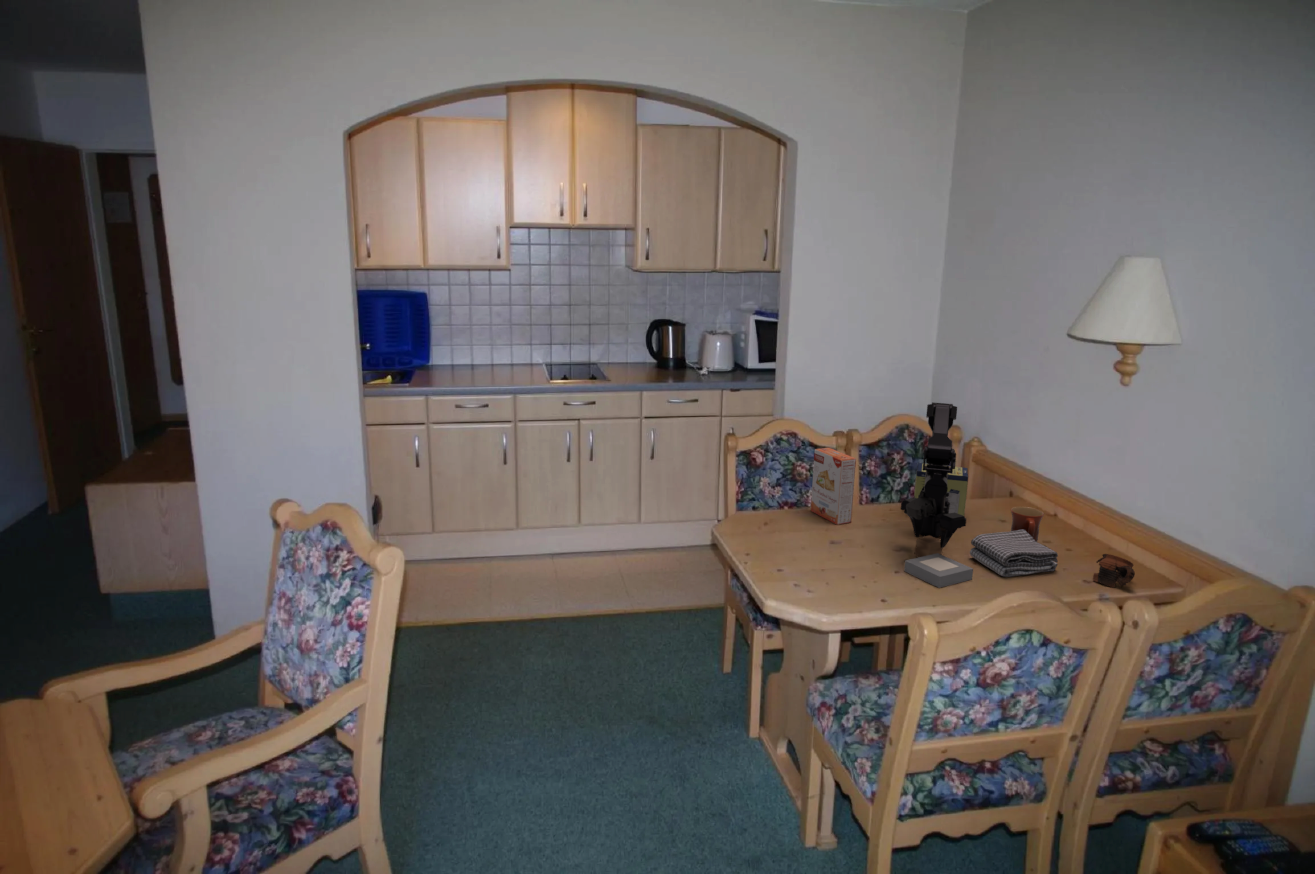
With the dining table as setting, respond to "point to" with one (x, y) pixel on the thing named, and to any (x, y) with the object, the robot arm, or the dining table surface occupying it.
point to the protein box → (955, 487)
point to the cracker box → (833, 485)
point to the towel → (1013, 553)
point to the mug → (1026, 520)
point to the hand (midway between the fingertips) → (929, 542)
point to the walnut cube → (927, 546)
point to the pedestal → (938, 570)
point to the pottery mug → (1114, 571)
